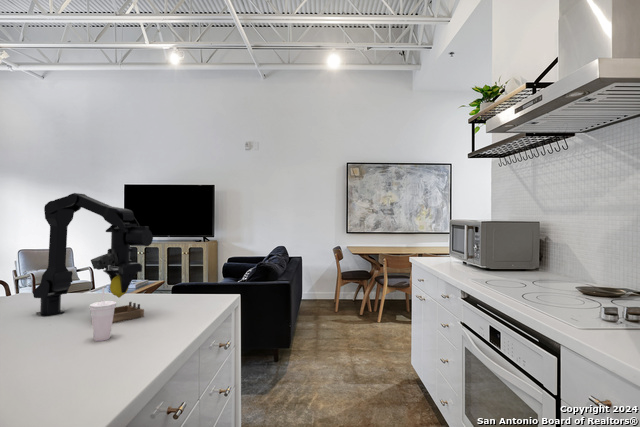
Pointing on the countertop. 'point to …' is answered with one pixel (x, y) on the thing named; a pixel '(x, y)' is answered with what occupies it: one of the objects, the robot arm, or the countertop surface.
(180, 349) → the countertop surface
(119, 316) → the tray
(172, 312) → the countertop surface
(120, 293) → the lemon
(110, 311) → the smoothie
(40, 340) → the countertop surface
